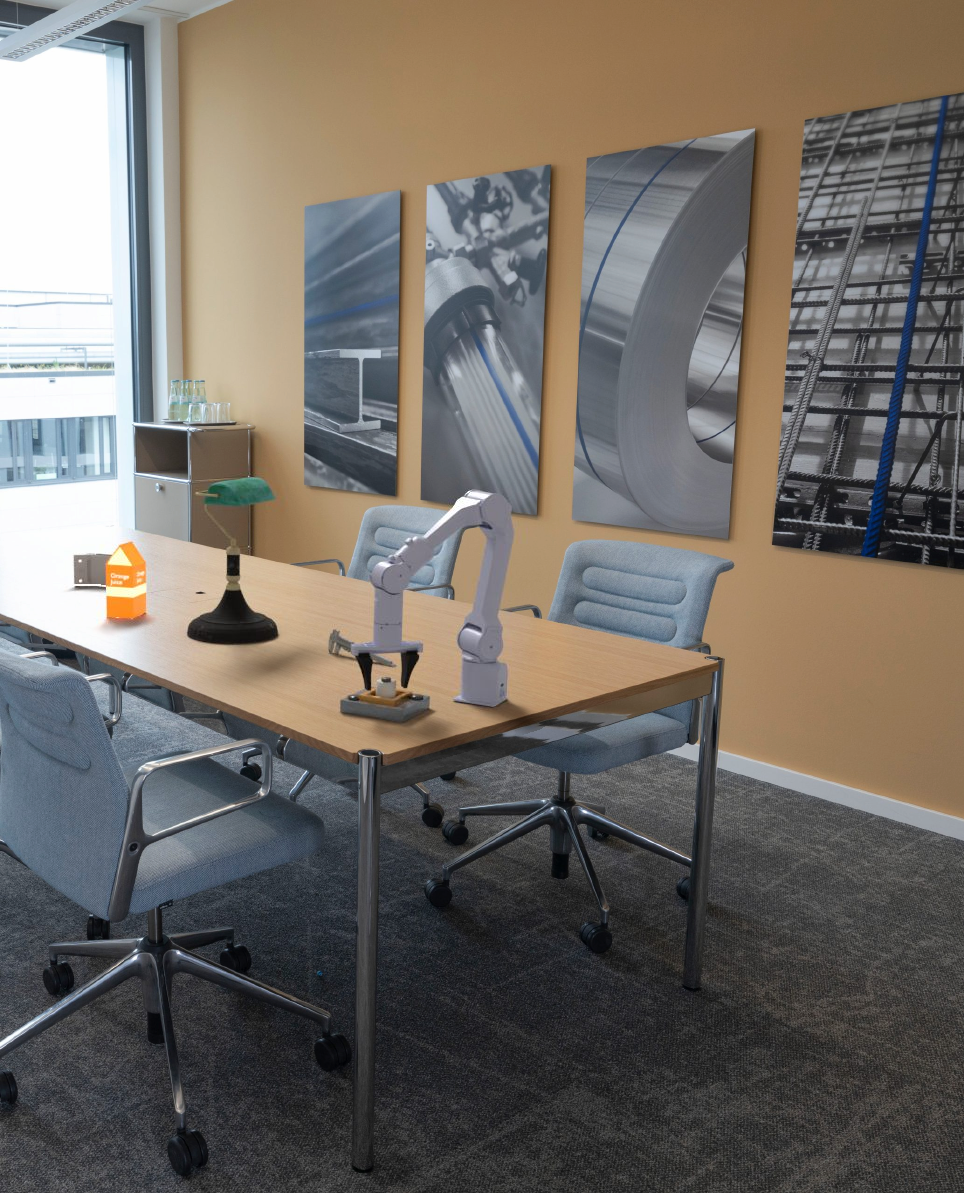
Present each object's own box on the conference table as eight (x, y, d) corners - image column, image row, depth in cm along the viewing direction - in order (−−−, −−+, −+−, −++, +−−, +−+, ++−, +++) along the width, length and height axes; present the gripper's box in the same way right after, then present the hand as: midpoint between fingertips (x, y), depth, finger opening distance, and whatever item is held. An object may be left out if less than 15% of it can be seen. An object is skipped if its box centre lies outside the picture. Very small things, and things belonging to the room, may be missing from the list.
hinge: (73, 587, 336) (72, 555, 335) (78, 584, 342) (77, 552, 340) (119, 588, 338) (118, 556, 336) (123, 585, 343) (123, 554, 341)
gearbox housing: (429, 707, 223) (430, 691, 223) (402, 722, 212) (403, 705, 212) (369, 698, 229) (369, 681, 228) (340, 711, 218) (340, 695, 217)
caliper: (328, 653, 267) (328, 628, 266) (331, 653, 268) (331, 628, 267) (393, 668, 256) (394, 642, 255) (396, 667, 257) (397, 641, 256)
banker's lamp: (254, 648, 268) (255, 485, 260) (167, 640, 272) (166, 479, 265) (293, 627, 293) (295, 478, 286) (213, 620, 298) (214, 473, 290)
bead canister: (398, 709, 222) (399, 677, 221) (389, 713, 218) (390, 681, 217) (381, 706, 223) (382, 674, 222) (371, 710, 220) (372, 678, 219)
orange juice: (146, 613, 303) (146, 541, 299) (133, 619, 294) (132, 545, 291) (119, 611, 304) (118, 540, 300) (105, 617, 295) (104, 544, 292)
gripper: (416, 616, 224) (413, 681, 226) (347, 619, 218) (345, 685, 221) (427, 624, 217) (425, 689, 220) (357, 626, 212) (355, 694, 214)
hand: (386, 688), depth 220 cm, fingers open, 7 cm apart
